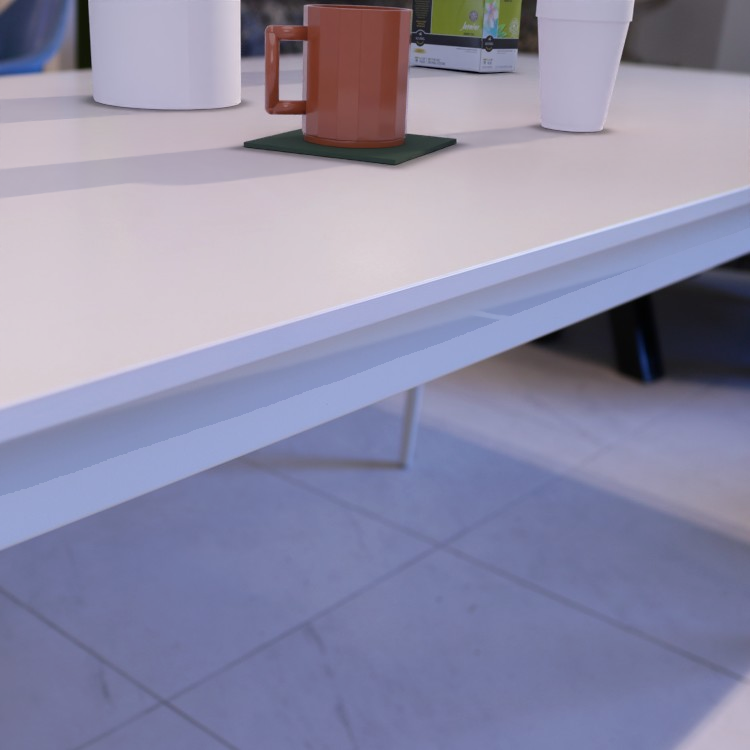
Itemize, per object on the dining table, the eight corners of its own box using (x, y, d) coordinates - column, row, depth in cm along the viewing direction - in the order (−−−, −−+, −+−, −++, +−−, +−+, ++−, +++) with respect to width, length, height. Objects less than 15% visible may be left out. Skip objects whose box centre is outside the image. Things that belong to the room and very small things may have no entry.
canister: (186, 89, 127) (181, -92, 120) (270, 104, 116) (271, -93, 109) (65, 95, 116) (53, -103, 109) (146, 113, 106) (138, -106, 98)
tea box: (518, 71, 168) (526, -27, 163) (479, 74, 161) (486, -29, 156) (446, 63, 178) (451, -30, 173) (406, 65, 171) (411, -32, 166)
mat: (456, 143, 96) (456, 138, 95) (395, 164, 84) (395, 159, 83) (319, 128, 101) (319, 124, 101) (243, 146, 89) (243, 142, 89)
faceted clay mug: (389, 132, 97) (394, 6, 93) (418, 148, 89) (426, 11, 85) (256, 132, 94) (256, 1, 90) (274, 148, 86) (275, 6, 82)
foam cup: (544, 133, 103) (557, -7, 99) (513, 120, 112) (524, -10, 107) (633, 134, 105) (651, -3, 101) (596, 121, 114) (611, -6, 109)
